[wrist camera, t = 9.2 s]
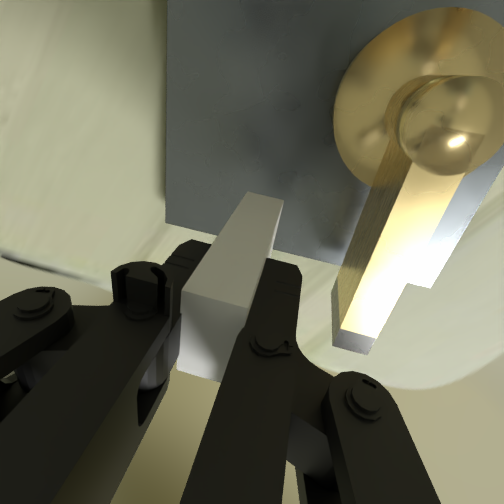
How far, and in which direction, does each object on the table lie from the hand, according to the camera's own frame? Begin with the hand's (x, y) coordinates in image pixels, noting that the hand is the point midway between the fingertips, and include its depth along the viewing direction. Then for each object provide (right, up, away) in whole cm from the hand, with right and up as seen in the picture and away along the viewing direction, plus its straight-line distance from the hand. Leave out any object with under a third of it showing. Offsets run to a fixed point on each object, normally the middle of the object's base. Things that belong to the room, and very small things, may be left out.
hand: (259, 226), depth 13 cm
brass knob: (+6, +2, +1) cm, 6 cm away
